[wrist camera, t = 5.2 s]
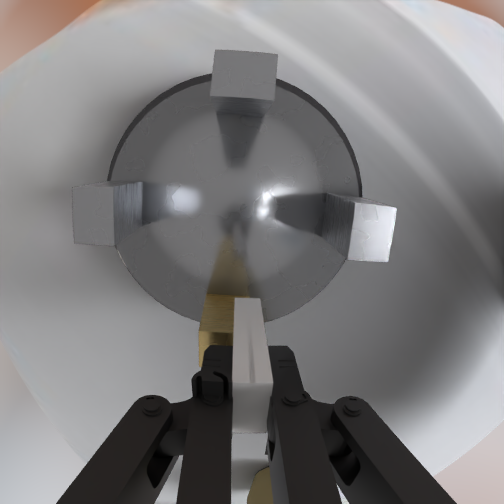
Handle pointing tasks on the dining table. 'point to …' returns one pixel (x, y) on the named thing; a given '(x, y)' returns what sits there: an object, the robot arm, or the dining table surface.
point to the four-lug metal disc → (233, 200)
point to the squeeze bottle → (261, 488)
